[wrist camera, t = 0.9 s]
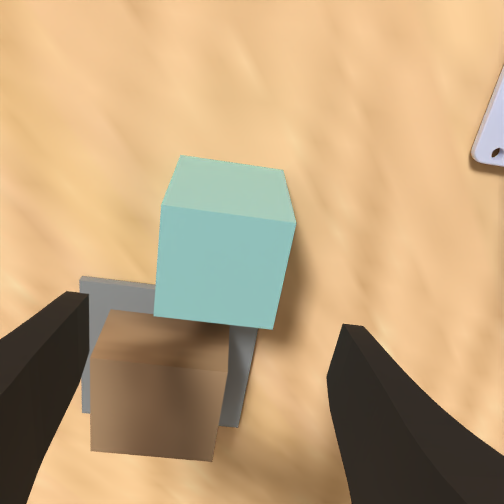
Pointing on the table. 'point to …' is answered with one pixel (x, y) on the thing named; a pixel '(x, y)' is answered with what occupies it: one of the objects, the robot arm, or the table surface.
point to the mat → (142, 300)
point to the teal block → (223, 243)
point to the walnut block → (157, 386)
